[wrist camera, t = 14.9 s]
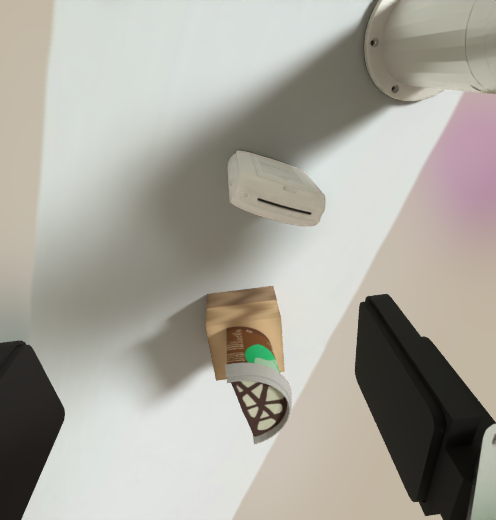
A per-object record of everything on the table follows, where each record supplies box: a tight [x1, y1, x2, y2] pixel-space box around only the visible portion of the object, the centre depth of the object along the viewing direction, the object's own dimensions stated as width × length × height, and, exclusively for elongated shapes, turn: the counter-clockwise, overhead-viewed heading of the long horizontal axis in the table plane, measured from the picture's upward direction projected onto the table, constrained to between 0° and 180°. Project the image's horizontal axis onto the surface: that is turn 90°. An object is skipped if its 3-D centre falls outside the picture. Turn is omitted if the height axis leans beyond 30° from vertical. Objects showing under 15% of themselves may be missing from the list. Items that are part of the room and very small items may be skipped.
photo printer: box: [227, 150, 325, 226], centre depth 39 cm, size 10×4×12 cm, turn 72°
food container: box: [225, 326, 291, 444], centre depth 44 cm, size 12×6×10 cm, turn 16°
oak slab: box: [206, 300, 284, 380], centre depth 50 cm, size 10×10×4 cm
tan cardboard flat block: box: [206, 286, 277, 308], centre depth 54 cm, size 10×10×4 cm
